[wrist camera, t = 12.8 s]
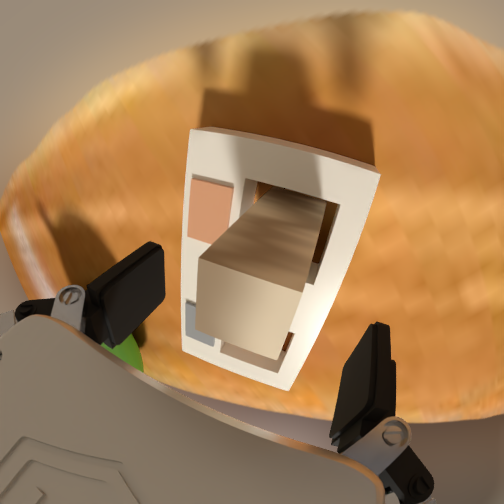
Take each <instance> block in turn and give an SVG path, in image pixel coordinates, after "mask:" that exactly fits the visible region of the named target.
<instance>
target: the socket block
mask: <svg viewBox="0 0 504 504" xmlns="http://www.w3.org/2000/svg"><path fill="white" fill-rule="evenodd" d="M380 175H381V174H380V173H379V171H378V170H377V168H376V167H375V166H373V165H370V164H367V163H364V162H361V161H358V160H355V159H352V158H349V157H345V156H342V155H339V154H335V153H332V152H328V151H325V150H321V149H318V148H314V147H310V146H306V145H302V144H298V143H294V142H290V141H286V140H281V139H277V138H272V137H268V136H263V135H258V134H253V133H247V132H242V131H236V130H230V129H224V128H217V127H203V128H195V129H190V136H189V145H188V155H187V166H186V177H185V191H184V206H183V225H182V252H181V329H182V351H184V352H187V353H189V354H191V355H193V356H196V357H198V358H200V359H202V360H205V361H207V362H210V363H212V364H214V365H217V366H219V367H222V368H224V369H227V370H229V371H232V372H234V373H237V374H240V375H242V376H245V377H248V378H250V379H253V380H256V381H259V382H262V383H265V384H268V385H271V386H274V387H277V388H280V389H283V390H286V391H289V389H290V387H291V386H292V384H293V382H294V380H295V378H296V377H297V375H298V373H299V371H300V369H301V367H302V365H303V363H304V362H305V360H306V358H307V356H308V354H309V352H310V350H311V348H312V346H313V344H314V342H315V340H316V338H317V336H318V334H319V332H320V330H321V328H322V326H323V323H324V321H325V319H326V317H327V315H328V313H329V310H330V308H331V306H332V304H333V302H334V299H335V297H336V295H337V293H338V290H339V288H340V286H341V283H342V281H343V278H344V276H345V274H346V271H347V269H348V266H349V264H350V261H351V259H352V256H353V254H354V251H355V249H356V246H357V243H358V241H359V238H360V235H361V232H362V230H363V227H364V224H365V221H366V218H367V216H368V213H369V210H370V207H371V204H372V201H373V198H374V195H375V191H376V188H377V185H378V182H379V179H380ZM257 181H259V182H263V183H267V184H271V185H275V186H279V187H282V188H286V189H290V190H293V191H297V192H300V193H304V194H307V195H311V196H314V197H317V198H321V199H324V200H327V201H330V202H334V203H337V204H338V206H337V209H336V212H335V216H334V219H333V222H332V225H331V228H330V232H329V235H328V238H327V241H326V244H325V247H324V250H323V253H322V256H321V259H320V262H319V264H317V263H314V262H311V266H310V269H309V273H308V276H307V280H306V283H305V287H304V290H303V294H302V296H301V299H300V302H299V305H298V307H297V310H296V313H295V316H294V318H293V321H292V324H291V326H290V329H289V332H292V333H293V334H292V337H291V339H290V342H289V344H288V347H287V349H286V351H282V350H281V352H280V355H279V357H278V360H274V359H271V358H268V357H265V356H262V355H260V354H257V353H254V352H251V351H248V350H246V349H243V348H240V347H238V346H235V345H232V344H230V343H227V342H225V341H222V340H220V339H217V338H215V337H212V336H210V335H207V334H205V333H202V332H200V331H198V330H195V316H196V291H197V272H198V258H199V257H200V256H201V255H202V254H203V253H204V252H205V251H206V250H207V249H208V248H209V247H210V246H211V245H212V244H213V243H214V242H215V241H216V240H217V239H218V238H219V237H220V236H221V235H222V234H223V233H224V232H225V231H226V230H227V229H228V228H229V227H230V226H231V225H232V224H233V223H234V222H236V221H237V220H238V219H239V218H240V217H241V216H242V215H243V214H244V213H245V212H246V211H247V210H248V209H249V208H250V207H251V206H252V205H253V204H254V198H255V192H256V187H257Z"/></svg>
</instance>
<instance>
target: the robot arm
mask: <svg viewBox="0 0 504 504" xmlns="http://www.w3.org/2000/svg"><path fill="white" fill-rule="evenodd" d="M164 298H165V270H164V250H163V249H162V247H161V245H159V244H156V243H154V242H151V241H149V242H147V243H146V244H144V245H143V246H141V247H140V248H138V249H137V250H135V251H134V252H133V253H131V254H130V255H128V256H127V257H125V258H124V259H123V260H121V261H120V262H118V263H117V264H116V265H114V266H113V267H111V268H110V269H109V270H107V271H106V272H105V273H103V274H102V275H101V276H99V277H98V278H97V279H95V280H94V281H93V282H91V283H90V284H89V285H87V290H86V291H84V289H83V288H82V287H81V286H78V285H69V286H66V287H64V288H62V289H61V290H60V291H59V292H58V293H57V295H56V298H50V299H38V300H29V301H25V302H23V303H22V304H20V305H19V306H18V307H17V309H16V311H15V312H14V310H11V311H8V312H6V313H3V314H0V504H436V500H435V498H433V499H432V498H431V494H432V491H433V489H434V480H433V477H432V475H431V474H430V473H429V471H428V470H427V469H426V467H425V466H424V465H423V463H422V462H421V461H420V459H419V458H418V457H417V456H416V454H415V453H414V452H413V450H412V449H411V448H410V446H409V443H410V441H411V429H410V427H409V425H408V424H407V422H406V421H404V420H403V419H401V418H399V417H395V411H396V362H395V361H394V360H391V342H390V326H389V325H386V324H383V323H380V322H376V323H375V324H370V325H369V327H368V329H367V330H366V332H365V333H364V335H363V337H362V338H361V340H360V342H359V343H358V345H357V346H356V348H355V349H354V351H353V352H352V354H351V355H350V357H349V358H348V360H347V361H346V363H345V365H344V367H343V371H342V376H341V382H340V387H339V393H338V398H337V403H336V408H335V412H334V417H333V421H332V426H331V430H330V434H329V437H330V438H333V439H332V443H331V445H334V446H338V449H337V452H338V453H339V454H338V453H335V452H333V451H329V450H326V449H323V448H319V447H316V446H313V445H309V444H306V443H303V442H299V441H296V440H293V439H290V438H286V437H283V436H281V435H278V434H275V433H272V432H269V431H266V430H263V429H260V428H258V427H255V426H252V425H250V424H247V423H244V422H241V421H239V420H237V419H234V418H232V417H230V416H227V415H225V414H223V413H220V412H218V411H216V410H214V409H211V408H209V407H207V406H205V405H203V404H200V403H198V402H196V401H194V400H192V399H190V398H188V397H186V396H184V395H182V394H180V393H178V392H176V391H175V390H173V389H171V388H169V387H167V386H165V385H163V384H162V383H160V382H158V381H156V380H155V379H153V378H151V377H149V376H148V375H146V374H144V373H142V372H141V371H139V370H137V369H136V368H134V367H133V366H131V365H129V364H128V363H126V362H125V361H123V360H122V359H120V358H118V357H117V356H115V355H114V354H112V353H111V352H109V351H108V350H106V349H105V348H104V347H102V346H101V344H102V343H103V342H104V344H105V345H107V346H108V347H110V348H111V349H113V348H114V347H115V346H116V345H120V344H121V343H122V342H123V341H124V340H125V339H126V338H127V337H128V336H129V335H130V334H131V333H132V332H133V331H134V330H135V329H136V328H137V327H138V326H139V325H140V324H141V323H142V322H143V321H144V320H145V319H146V318H147V317H148V316H149V315H150V314H151V313H152V312H153V311H154V310H155V309H156V308H157V307H158V306H159V305H160V304H161V303H162V302H163V300H164Z"/></svg>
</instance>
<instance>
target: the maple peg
mask: <svg viewBox="0 0 504 504" xmlns="http://www.w3.org/2000/svg"><path fill="white" fill-rule="evenodd" d="M326 204H327V201H324V200H320V199H317V198H314V197H310V196H307V195H303V194H300V193H296V192H293V191H289V190H286V189H282V188H278V187H275V186H273V187H272V188H271V189H270V190H268V191H267V192H266V193H265V194H264V195H263V196H262V197H261V198H260V199H259V200H258V201H257V202H256V203H255V204H253V205H252V206H251V207H250V208H249V209H248V210H247V211H246V212H245V213H244V214H243V215H242V216H241V217H240V218H239V219H238V220H237V221H236V222H234V223H233V224H232V225H231V226H230V227H229V228H228V229H227V230H226V231H225V232H224V233H223V234H222V235H221V236H220V237H219V238H218V239H217V240H216V241H215V242H214V243H213V244H212V245H211V246H210V247H209V248H208V249H207V250H206V251H205V252H204V253H203V254H202V255H201V256H200V257H199V258H198V272H197V291H196V316H195V330H198V331H200V332H202V333H205V334H207V335H210V336H212V337H215V338H217V339H220V340H222V341H225V342H227V343H230V344H232V345H235V346H238V347H240V348H243V349H246V350H248V351H251V352H254V353H257V354H260V355H262V356H265V357H268V358H271V359H274V360H278V357H279V355H280V352H281V350H282V347H283V345H284V342H285V339H286V337H287V334H288V332H289V329H290V326H291V324H292V321H293V318H294V316H295V313H296V310H297V307H298V305H299V302H300V299H301V296H302V294H303V290H304V287H305V283H306V280H307V276H308V273H309V269H310V266H311V262H312V259H313V255H314V251H315V247H316V244H317V240H318V236H319V232H320V228H321V224H322V220H323V216H324V212H325V208H326Z"/></svg>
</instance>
